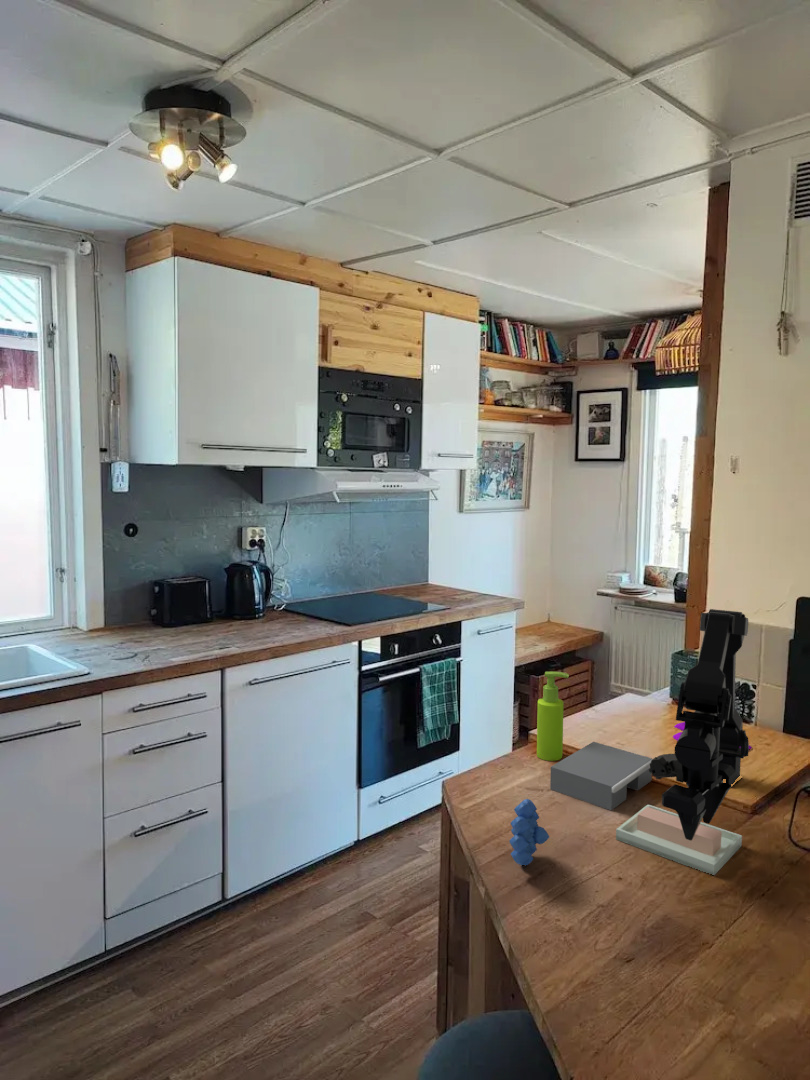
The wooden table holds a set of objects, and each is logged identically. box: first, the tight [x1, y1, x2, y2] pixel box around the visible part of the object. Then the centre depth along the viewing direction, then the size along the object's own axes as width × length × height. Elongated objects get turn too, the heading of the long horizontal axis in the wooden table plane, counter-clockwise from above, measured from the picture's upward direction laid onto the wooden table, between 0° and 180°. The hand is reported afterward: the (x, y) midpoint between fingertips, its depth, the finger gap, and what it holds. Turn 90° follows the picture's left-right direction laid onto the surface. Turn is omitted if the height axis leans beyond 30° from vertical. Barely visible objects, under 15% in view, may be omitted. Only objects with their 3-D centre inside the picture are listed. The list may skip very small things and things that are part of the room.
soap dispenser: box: [536, 671, 570, 762], centre depth 180 cm, size 6×7×20 cm
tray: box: [615, 804, 743, 876], centre depth 142 cm, size 18×13×2 cm
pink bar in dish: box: [637, 807, 722, 856], centre depth 142 cm, size 14×4×3 cm, turn 48°
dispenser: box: [549, 741, 653, 811], centre depth 165 cm, size 15×18×5 cm
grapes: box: [508, 798, 550, 867], centre depth 134 cm, size 12×7×12 cm, turn 159°
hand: (697, 830), depth 140 cm, fingers open, 8 cm apart
